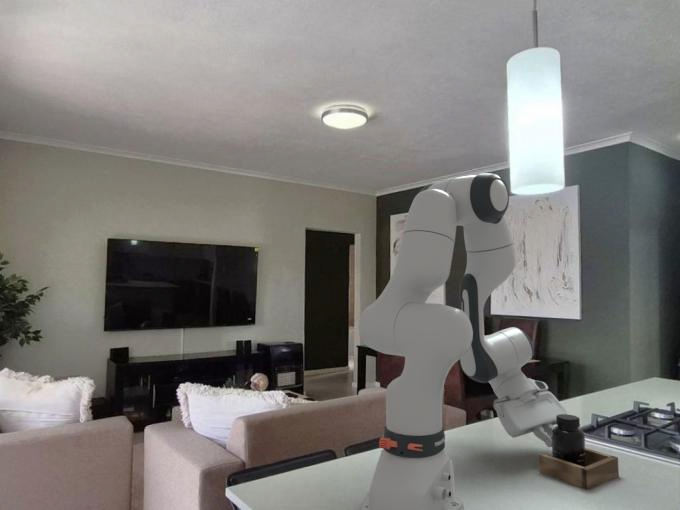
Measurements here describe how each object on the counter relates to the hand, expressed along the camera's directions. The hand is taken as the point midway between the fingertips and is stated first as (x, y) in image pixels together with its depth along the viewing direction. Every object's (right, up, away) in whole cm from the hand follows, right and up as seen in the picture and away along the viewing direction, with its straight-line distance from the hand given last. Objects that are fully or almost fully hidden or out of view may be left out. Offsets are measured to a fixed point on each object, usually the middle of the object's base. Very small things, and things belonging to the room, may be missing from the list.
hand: (554, 444), depth 114 cm
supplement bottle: (+2, -5, -3) cm, 6 cm away
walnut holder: (+3, -5, -5) cm, 8 cm away
